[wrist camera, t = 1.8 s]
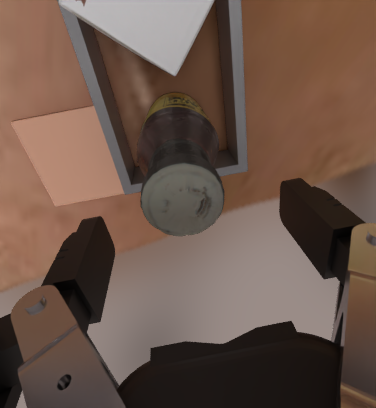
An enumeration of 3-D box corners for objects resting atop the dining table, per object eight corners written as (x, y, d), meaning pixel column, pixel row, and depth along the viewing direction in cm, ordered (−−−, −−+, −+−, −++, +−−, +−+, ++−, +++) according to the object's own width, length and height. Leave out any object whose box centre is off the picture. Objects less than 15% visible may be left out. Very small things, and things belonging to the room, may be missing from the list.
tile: (110, 102, 27) (109, 102, 26) (137, 188, 33) (137, 190, 32) (13, 121, 27) (10, 122, 27) (57, 204, 33) (55, 206, 32)
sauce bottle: (212, 118, 29) (284, 206, 12) (176, 155, 31) (193, 276, 14) (171, 74, 26) (189, 108, 9) (134, 118, 28) (94, 213, 11)
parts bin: (219, -97, 20) (235, -137, 16) (236, 155, 32) (247, 171, 27) (53, -64, 20) (24, -95, 16) (129, 176, 32) (124, 194, 27)
